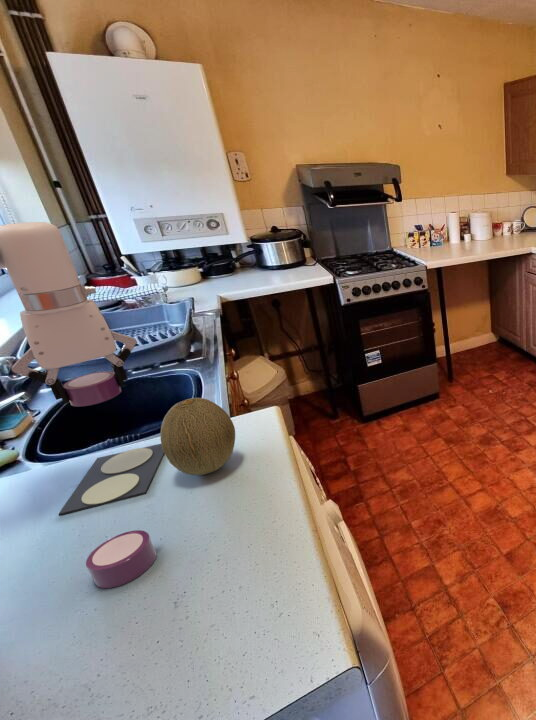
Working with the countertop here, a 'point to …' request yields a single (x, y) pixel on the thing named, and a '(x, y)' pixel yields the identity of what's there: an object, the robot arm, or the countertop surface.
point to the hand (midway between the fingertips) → (94, 391)
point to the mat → (116, 478)
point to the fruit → (197, 436)
